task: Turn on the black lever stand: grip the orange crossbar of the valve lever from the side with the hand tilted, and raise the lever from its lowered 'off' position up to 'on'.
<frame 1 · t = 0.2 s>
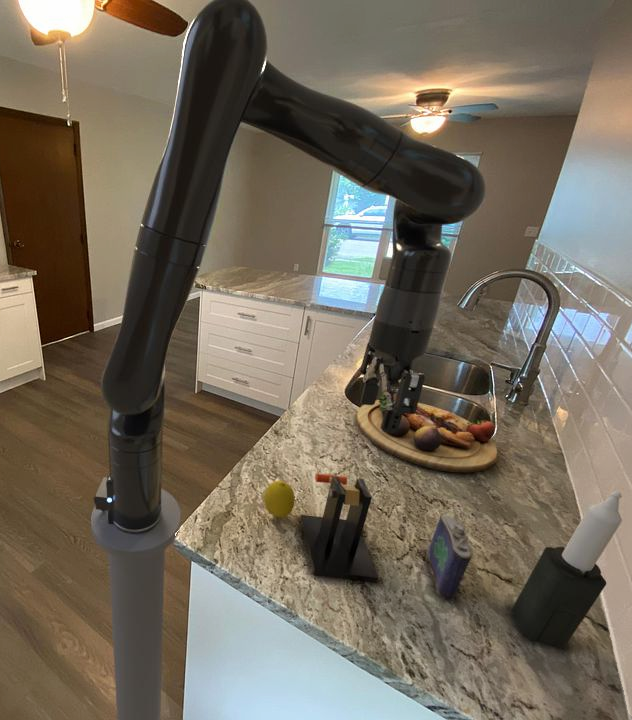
hand: (377, 416, 62), 25 cm above the worktop, tool pointing down, fingers open, 8 cm apart
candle: (536, 628, 56), on the worktop
black lever stand: (335, 548, 68), on the worktop
flask: (439, 576, 64), on the worktop
wooden plate: (420, 436, 103), on the worktop
valve lever: (339, 487, 68), point 10 cm above the worktop, hinge at -25.0°
lemon: (276, 516, 75), on the worktop
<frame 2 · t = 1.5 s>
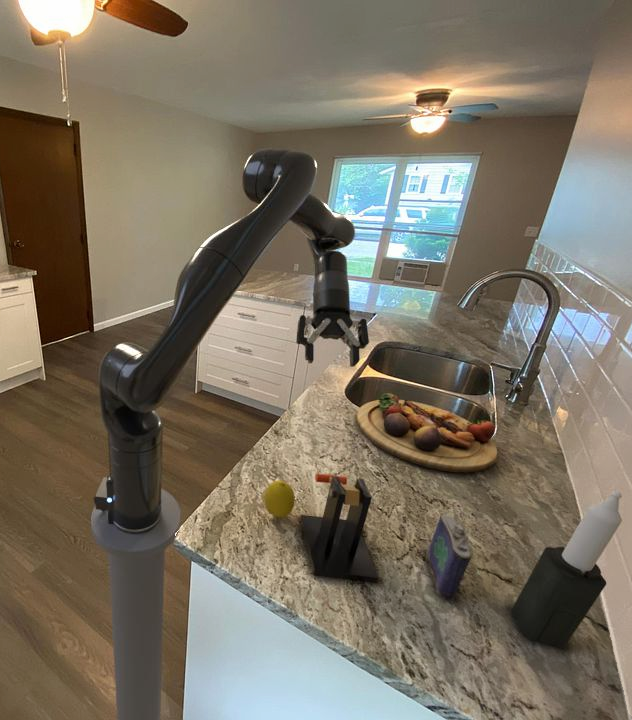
hand: (332, 363, 81), 25 cm above the worktop, tool tilted 45°, fingers open, 8 cm apart
nothing on the worktop moved.
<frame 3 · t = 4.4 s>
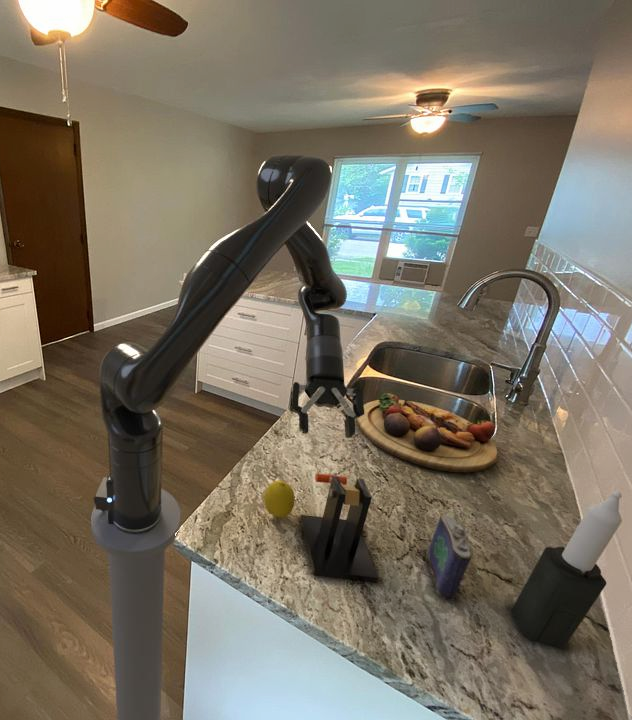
hand: (327, 435, 78), 13 cm above the worktop, tool tilted 45°, fingers open, 8 cm apart
nothing on the worktop moved.
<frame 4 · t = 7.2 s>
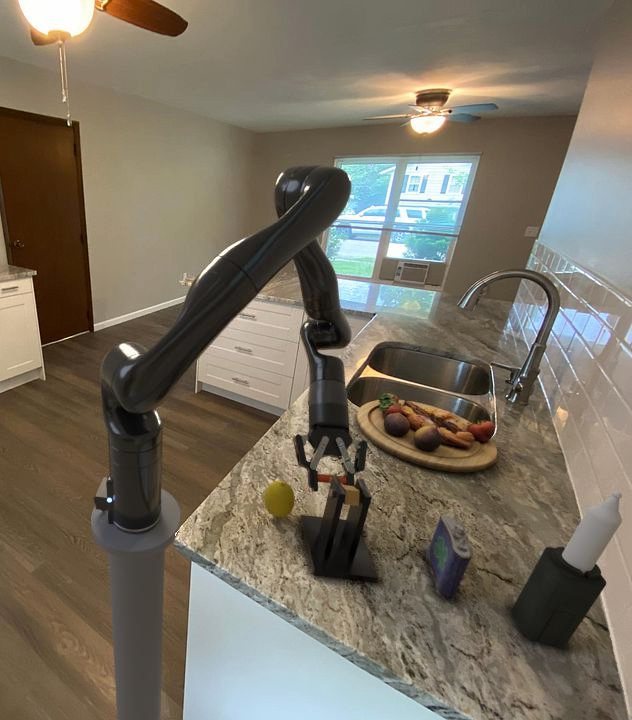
hand: (331, 492, 72), 6 cm above the worktop, tool tilted 45°, fingers closed on valve lever, 5 cm apart
valve lever: (339, 487, 68), point 10 cm above the worktop, hinge at -25.0°, touching gripper
everything else where it was.
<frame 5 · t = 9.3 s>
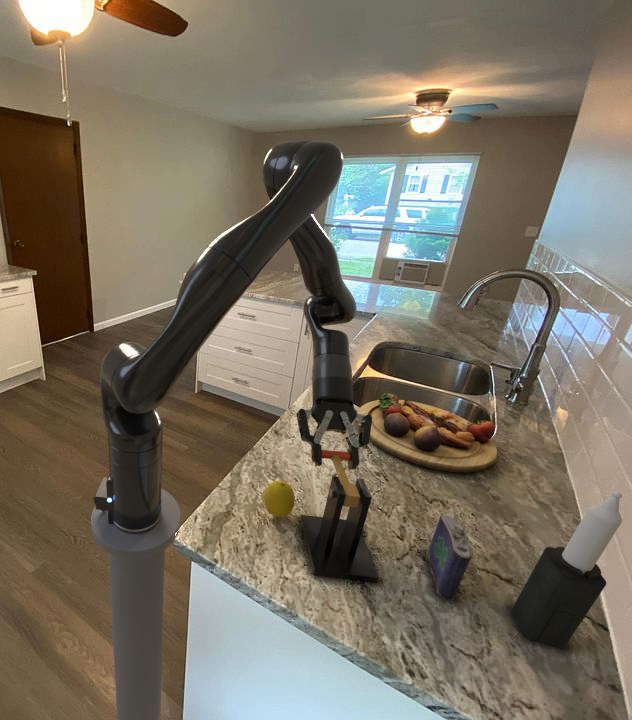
hand: (335, 466, 71), 11 cm above the worktop, tool tilted 45°, fingers closed on valve lever, 5 cm apart
valve lever: (341, 475, 68), point 12 cm above the worktop, hinge at 3.7°, touching gripper
everything else where it was.
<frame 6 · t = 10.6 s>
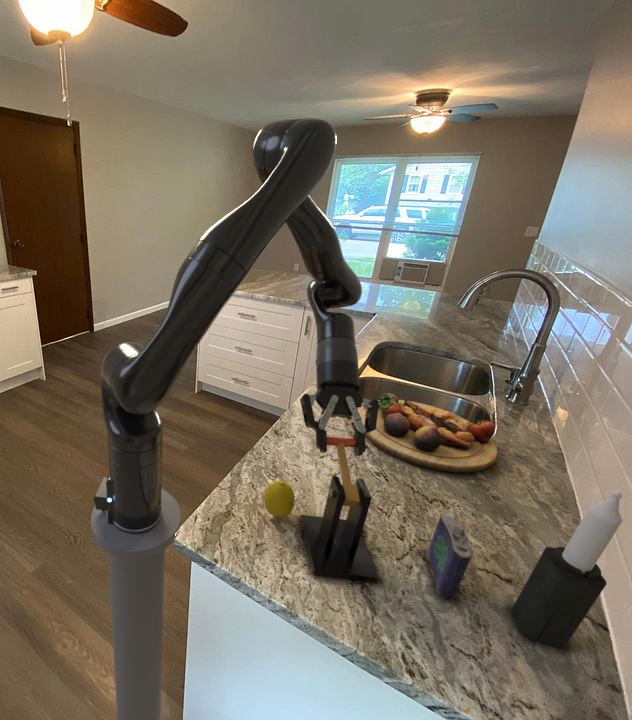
hand: (341, 453, 69), 15 cm above the worktop, tool tilted 45°, fingers closed on valve lever, 5 cm apart
valve lever: (344, 468, 67), point 14 cm above the worktop, hinge at 25.0°, touching gripper
everything else where it was.
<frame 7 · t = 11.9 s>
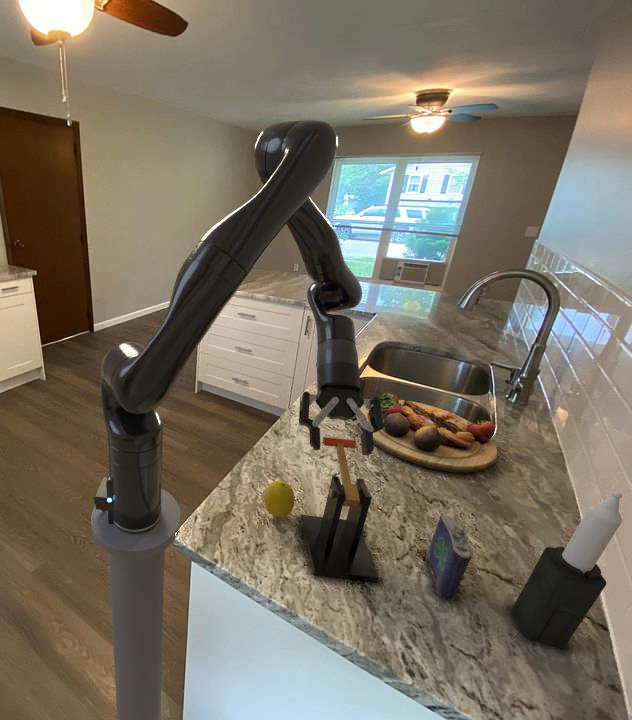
hand: (341, 452, 68), 15 cm above the worktop, tool tilted 45°, fingers open, 8 cm apart
valve lever: (344, 469, 67), point 14 cm above the worktop, hinge at 23.5°
everything else where it was.
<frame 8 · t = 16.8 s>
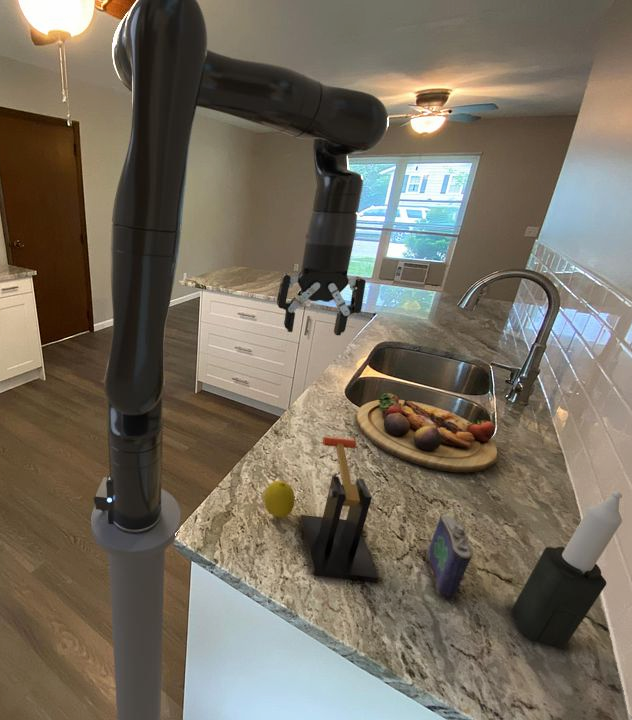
hand: (313, 332, 71), 34 cm above the worktop, tool pointing down, fingers open, 8 cm apart
nothing on the worktop moved.
at the end: valve lever at +24° (first picture: -25°) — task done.
